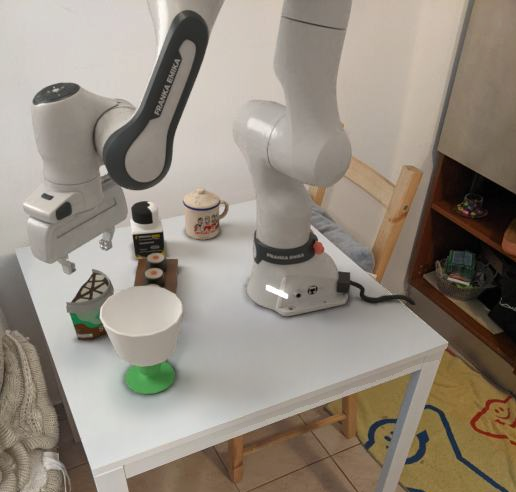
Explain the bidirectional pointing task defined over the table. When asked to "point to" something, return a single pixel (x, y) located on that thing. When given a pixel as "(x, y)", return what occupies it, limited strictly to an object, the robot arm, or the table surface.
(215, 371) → the table surface
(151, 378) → the cup
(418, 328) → the table surface
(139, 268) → the sushi board
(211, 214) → the teacup with lid
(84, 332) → the food container
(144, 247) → the medicine bottle
